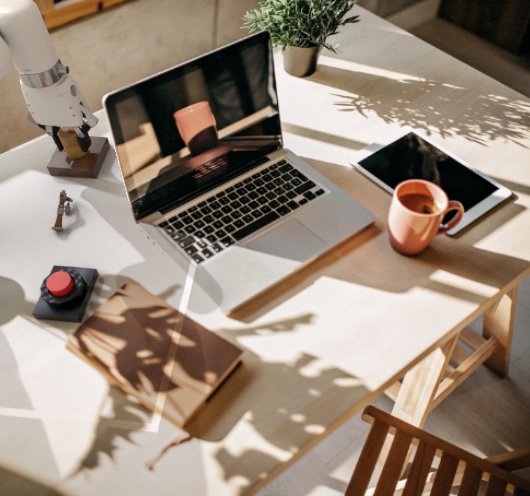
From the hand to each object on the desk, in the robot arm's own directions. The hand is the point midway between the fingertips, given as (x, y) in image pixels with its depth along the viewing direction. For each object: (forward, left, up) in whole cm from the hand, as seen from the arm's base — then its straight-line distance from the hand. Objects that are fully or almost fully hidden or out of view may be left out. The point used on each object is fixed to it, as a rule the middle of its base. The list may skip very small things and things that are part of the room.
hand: (75, 146), depth 103 cm
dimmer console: (0, 0, -4) cm, 4 cm away
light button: (+9, -33, -1) cm, 34 cm away
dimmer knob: (0, 0, -1) cm, 1 cm away
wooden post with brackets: (+2, -16, -4) cm, 17 cm away
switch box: (+9, -33, -4) cm, 34 cm away
